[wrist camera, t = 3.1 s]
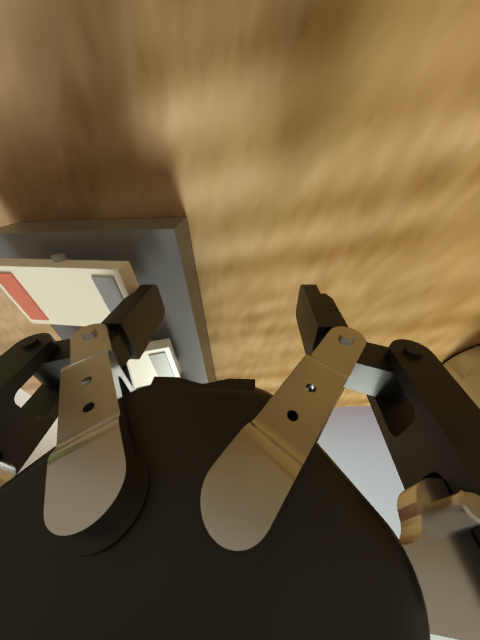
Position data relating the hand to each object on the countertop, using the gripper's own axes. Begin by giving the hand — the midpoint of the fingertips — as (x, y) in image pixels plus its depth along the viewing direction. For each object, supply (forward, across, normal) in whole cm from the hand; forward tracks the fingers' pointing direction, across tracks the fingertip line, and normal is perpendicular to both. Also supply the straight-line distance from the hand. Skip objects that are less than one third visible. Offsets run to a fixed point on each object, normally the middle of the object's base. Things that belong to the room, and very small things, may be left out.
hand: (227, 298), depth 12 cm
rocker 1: (0, +9, 0) cm, 9 cm away
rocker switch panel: (+5, +9, +7) cm, 13 cm away
